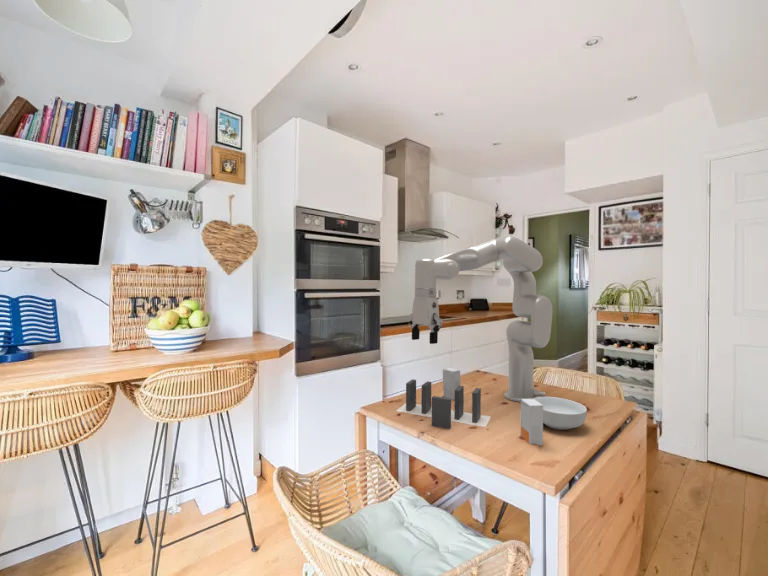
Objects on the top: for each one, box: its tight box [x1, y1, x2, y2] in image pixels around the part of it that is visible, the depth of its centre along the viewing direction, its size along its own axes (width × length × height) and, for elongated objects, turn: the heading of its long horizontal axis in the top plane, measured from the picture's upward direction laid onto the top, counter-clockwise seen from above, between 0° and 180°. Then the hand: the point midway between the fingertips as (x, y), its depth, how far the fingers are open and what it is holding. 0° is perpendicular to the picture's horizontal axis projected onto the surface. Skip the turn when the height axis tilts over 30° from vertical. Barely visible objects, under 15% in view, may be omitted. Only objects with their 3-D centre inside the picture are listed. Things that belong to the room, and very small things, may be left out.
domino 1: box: [405, 379, 417, 411], centre depth 133 cm, size 2×6×10 cm, turn 154°
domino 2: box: [421, 380, 432, 414], centre depth 131 cm, size 2×6×10 cm, turn 154°
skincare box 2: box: [520, 399, 544, 446], centre depth 108 cm, size 6×4×12 cm
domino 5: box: [471, 387, 482, 423], centre depth 123 cm, size 2×6×10 cm, turn 154°
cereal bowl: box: [534, 396, 588, 431], centre depth 120 cm, size 17×17×7 cm
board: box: [395, 402, 492, 428], centre depth 128 cm, size 32×10×1 cm, turn 64°
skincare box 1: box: [442, 367, 461, 401], centre depth 146 cm, size 6×4×12 cm
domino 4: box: [454, 385, 465, 420], centre depth 125 cm, size 2×6×10 cm, turn 154°
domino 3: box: [431, 395, 452, 430], centre depth 117 cm, size 2×6×10 cm, turn 64°
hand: (424, 341), depth 128 cm, fingers open, 9 cm apart
